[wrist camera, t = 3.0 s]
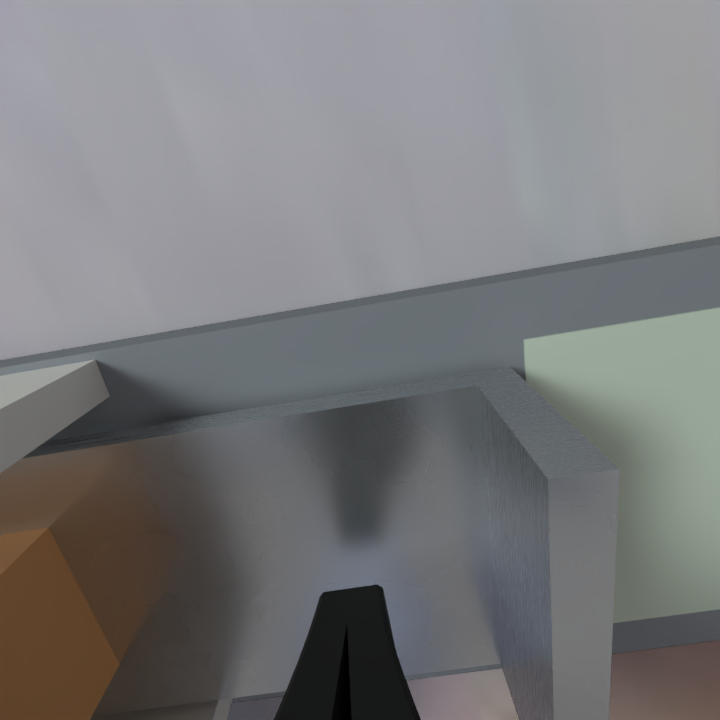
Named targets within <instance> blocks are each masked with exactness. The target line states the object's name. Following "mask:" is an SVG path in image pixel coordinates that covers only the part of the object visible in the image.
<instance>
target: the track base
mask: <svg viewBox="0 0 720 720" xmlns="http://www.w3.org/2000/svg"><path fill="white" fill-rule="evenodd" d="M90 360H96V363H97V365H98V368H99V370H100V373H101V375H102V378H103V380H104V383H105V385H106V387H107V390H108V392H109V395H110V397H108V398H107V399H105V400H104V401H103V402H101V403H100V404H98V405H97V406H95V407H94V408H93V409H91V410H90V411H88V412H87V413H85V414H84V415H83V416H81V417H80V418H78V419H77V420H75V421H74V422H73V423H71V424H70V425H68V426H67V427H65V428H64V429H63V430H61V431H60V432H58V433H57V434H55V435H54V436H53V437H51V438H50V439H48V440H47V441H51V440H57V439H64V438H70V437H76V436H82V435H88V434H94V433H101V432H107V431H113V430H119V429H125V428H132V427H138V426H144V425H150V424H156V423H162V422H169V421H175V420H181V419H187V418H193V417H199V416H206V415H212V414H218V413H224V412H230V411H237V410H243V409H249V408H255V407H261V406H267V405H274V404H280V403H286V402H292V401H298V400H305V399H311V398H317V397H323V396H329V395H335V394H342V393H348V392H354V391H360V390H366V389H373V388H379V387H385V386H391V385H397V384H403V383H410V382H416V381H422V380H428V379H434V378H440V377H447V376H453V375H459V374H465V373H471V372H478V371H484V370H490V369H496V368H502V367H508V366H509V367H511V368H512V369H513V370H514V371H515V372H516V373H517V374H518V375H519V376H520V377H521V378H522V379H523V380H524V381H526V382H527V383H528V384H529V385H530V386H531V387H532V388H533V389H534V390H535V391H536V392H537V393H538V394H540V395H541V396H542V397H543V398H544V399H545V400H546V401H547V402H548V403H549V404H550V405H551V406H552V407H554V408H555V409H556V410H557V411H558V412H559V413H560V414H561V415H562V416H563V417H564V418H565V419H566V420H568V421H569V422H570V423H571V424H572V425H573V426H574V427H575V428H576V429H577V430H578V431H579V432H580V433H582V434H583V435H584V436H585V437H586V438H587V439H588V440H589V441H590V442H591V443H592V444H593V445H594V446H596V447H597V448H598V449H599V450H600V451H601V452H602V453H603V454H604V455H605V456H606V457H607V458H608V459H610V460H611V461H612V462H613V463H614V464H615V465H616V466H617V467H618V468H619V469H620V472H619V496H618V519H617V542H616V565H615V588H614V612H613V635H612V654H616V653H623V652H631V651H639V650H647V649H655V648H662V647H670V646H678V645H686V644H694V643H701V642H709V641H717V640H720V237H715V238H709V239H704V240H698V241H692V242H686V243H680V244H675V245H669V246H663V247H657V248H651V249H645V250H640V251H634V252H628V253H622V254H616V255H611V256H605V257H599V258H593V259H587V260H582V261H576V262H570V263H564V264H558V265H553V266H547V267H541V268H535V269H529V270H524V271H518V272H512V273H506V274H500V275H495V276H489V277H483V278H477V279H471V280H466V281H460V282H454V283H448V284H442V285H437V286H431V287H425V288H419V289H413V290H408V291H402V292H396V293H390V294H384V295H378V296H373V297H367V298H361V299H355V300H349V301H344V302H338V303H332V304H326V305H320V306H315V307H309V308H303V309H297V310H291V311H286V312H280V313H274V314H268V315H262V316H257V317H251V318H245V319H239V320H233V321H228V322H222V323H216V324H210V325H204V326H199V327H193V328H187V329H181V330H175V331H170V332H164V333H158V334H152V335H146V336H140V337H135V338H129V339H123V340H117V341H111V342H106V343H100V344H94V345H88V346H82V347H77V348H71V349H65V350H59V351H53V352H48V353H42V354H36V355H30V356H24V357H19V358H13V359H7V360H1V361H0V376H2V375H8V374H14V373H20V372H26V371H32V370H38V369H43V368H49V367H55V366H61V365H67V364H73V363H79V362H84V361H90ZM499 668H502V666H501V664H493V665H485V666H478V667H470V668H462V669H454V670H446V671H439V672H431V673H423V674H415V675H408V676H405V679H406V680H413V679H421V678H428V677H436V676H444V675H452V674H460V673H467V672H475V671H483V670H491V669H499ZM285 692H286V691H283V692H276V693H268V694H260V695H252V696H245V697H237V698H232V703H233V702H241V701H249V700H257V699H265V698H272V697H280V696H284V695H285Z"/></svg>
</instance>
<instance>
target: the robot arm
mask: <svg viewBox="0 0 720 720" xmlns="http://www.w3.org/2000/svg"><path fill="white" fill-rule="evenodd" d="M274 720H421V719H420V717H419V714H418V711H417V709H416V706H415V704H414V701H413V698H412V696H411V693H410V690H409V687H408V684H407V681H406V679H405V676H404V673H403V670H402V667H401V664H400V661H399V658H398V655H397V652H396V649H395V644H394V639H393V634H392V629H391V625H390V620H389V615H388V610H387V605H386V600H385V595H384V590H383V588H382V587H381V586H379V585H378V584H377V585H370V586H362V587H355V588H348V589H341V590H334V591H327V592H323V593H322V594H321V596H320V597H319V601H318V604H317V608H316V611H315V614H314V617H313V620H312V623H311V626H310V629H309V632H308V635H307V638H306V641H305V643H304V646H303V649H302V651H301V654H300V657H299V660H298V662H297V665H296V667H295V670H294V672H293V675H292V677H291V680H290V682H289V685H288V687H287V690H286V692H285V695H284V697H283V700H282V702H281V704H280V707H279V709H278V712H277V714H276V716H275V718H274Z"/></svg>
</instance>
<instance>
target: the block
mask: <svg viewBox="0 0 720 720" xmlns="http://www.w3.org/2000/svg"><path fill="white" fill-rule="evenodd" d="M118 667H119V663H118V661H117V659H116V657H115V655H114V653H113V651H112V649H111V647H110V645H109V643H108V641H107V640H106V638H105V636H104V634H103V632H102V630H101V628H100V626H99V624H98V622H97V620H96V618H95V616H94V614H93V613H92V611H91V609H90V607H89V605H88V603H87V601H86V599H85V597H84V595H83V593H82V591H81V589H80V587H79V586H78V584H77V582H76V580H75V578H74V576H73V574H72V572H71V570H70V568H69V566H68V564H67V562H66V560H65V559H64V557H63V555H62V553H61V551H60V549H59V547H58V545H57V543H56V541H55V539H54V537H53V535H52V533H51V532H50V530H49V528H42V529H36V530H29V531H23V532H16V533H9V534H3V535H0V720H90V719H91V717H92V715H93V713H94V711H95V709H96V708H97V706H98V704H99V702H100V700H101V698H102V696H103V694H104V693H105V691H106V689H107V687H108V685H109V683H110V681H111V680H112V678H113V676H114V674H115V672H116V670H117V668H118Z"/></svg>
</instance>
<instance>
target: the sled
mask: <svg viewBox="0 0 720 720" xmlns="http://www.w3.org/2000/svg"><path fill="white" fill-rule="evenodd" d="M619 472H620V469H619V468H618V467H617V466H616V465H615V464H614V463H613V462H612V461H611V460H610V459H608V458H607V457H606V456H605V455H604V454H603V453H602V452H601V451H600V450H599V449H598V448H597V447H596V446H594V445H593V444H592V443H591V442H590V441H589V440H588V439H587V438H586V437H585V436H584V435H583V434H582V433H580V432H579V431H578V430H577V429H576V428H575V427H574V426H573V425H572V424H571V423H570V422H569V421H568V420H566V419H565V418H564V417H563V416H562V415H561V414H560V413H559V412H558V411H557V410H556V409H555V408H554V407H552V406H551V405H550V404H549V403H548V402H547V401H546V400H545V399H544V398H543V397H542V396H541V395H540V394H538V393H537V392H536V391H535V390H534V389H533V388H532V387H531V386H530V385H529V384H528V383H527V382H526V381H524V380H523V379H522V378H521V377H520V376H519V375H518V374H517V373H516V372H515V371H514V370H513V369H512V368H511V367H509V366H508V367H502V368H496V369H490V370H484V371H478V372H471V373H465V374H459V375H453V376H447V377H440V378H434V379H428V380H422V381H416V382H410V383H403V384H397V385H391V386H385V387H379V388H373V389H366V390H360V391H354V392H348V393H342V394H335V395H329V396H323V397H317V398H311V399H305V400H298V401H292V402H286V403H280V404H274V405H267V406H261V407H255V408H249V409H243V410H237V411H230V412H224V413H218V414H212V415H206V416H199V417H193V418H187V419H181V420H175V421H169V422H162V423H156V424H150V425H144V426H138V427H132V428H125V429H119V430H113V431H107V432H101V433H94V434H88V435H82V436H76V437H70V438H64V439H57V440H51V441H46V442H44V443H43V444H41V445H40V446H38V447H37V448H36V449H34V450H33V451H31V452H30V453H28V454H27V455H26V456H24V457H23V458H21V459H20V460H18V461H17V462H16V463H14V464H13V465H11V466H10V467H8V468H7V469H6V470H4V471H3V472H1V473H0V535H3V534H9V533H16V532H23V531H29V530H36V529H42V528H49V530H50V532H51V533H52V535H53V537H54V539H55V541H56V543H57V545H58V547H59V549H60V551H61V553H62V555H63V557H64V559H65V560H66V562H67V564H68V566H69V568H70V570H71V572H72V574H73V576H74V578H75V580H76V582H77V584H78V586H79V587H80V589H81V591H82V593H83V595H84V597H85V599H86V601H87V603H88V605H89V607H90V609H91V611H92V613H93V614H94V616H95V618H96V620H97V622H98V624H99V626H100V628H101V630H102V632H103V634H104V636H105V638H106V640H107V641H108V643H109V645H110V647H111V649H112V651H113V653H114V655H115V657H116V659H117V661H118V663H119V667H118V668H117V670H116V672H115V674H114V676H113V678H112V680H111V681H110V683H109V685H108V687H107V689H106V691H105V693H104V694H103V696H102V698H101V700H100V702H99V704H98V706H97V708H96V709H95V711H94V713H93V715H92V716H97V715H105V714H112V713H120V712H128V711H136V710H144V709H151V708H159V707H167V706H175V705H182V704H190V703H198V702H206V701H213V700H221V699H229V698H237V697H245V696H252V695H260V694H268V693H276V692H283V691H286V690H287V687H288V685H289V682H290V680H291V677H292V675H293V672H294V670H295V667H296V665H297V662H298V660H299V657H300V654H301V651H302V649H303V646H304V643H305V641H306V638H307V635H308V632H309V629H310V626H311V623H312V620H313V617H314V614H315V611H316V608H317V604H318V601H319V597H320V596H321V594H322V593H323V592H327V591H334V590H341V589H348V588H355V587H362V586H370V585H377V584H378V585H379V586H381V587H382V588H383V590H384V595H385V600H386V605H387V610H388V615H389V620H390V625H391V629H392V634H393V639H394V644H395V649H396V652H397V655H398V658H399V661H400V664H401V667H402V670H403V673H404V676H408V675H415V674H423V673H431V672H439V671H446V670H454V669H462V668H470V667H478V666H485V665H493V664H501V666H502V669H503V672H504V675H505V678H506V681H507V684H508V688H509V691H510V694H511V697H512V700H513V703H514V706H515V709H516V712H517V715H518V718H519V720H609V704H610V681H611V658H612V635H613V612H614V588H615V565H616V542H617V519H618V496H619Z"/></svg>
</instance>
